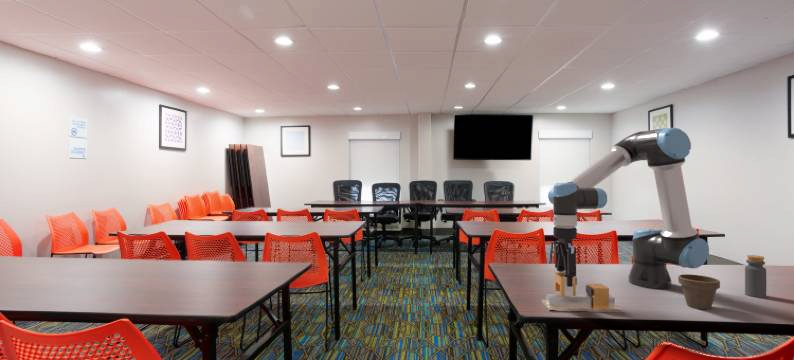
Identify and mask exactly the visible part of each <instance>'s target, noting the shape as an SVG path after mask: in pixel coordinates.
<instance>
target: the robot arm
mask: <svg viewBox="0 0 794 360" xmlns="http://www.w3.org/2000/svg"><path fill="white" fill-rule="evenodd" d="M691 149H692V143H691V139H690V137H689V136H688V134H687V132H685V131H683V130H682V129H680V128H677V127H663V128H658V129H651V130H642V131H637V132H635V133H632V134H630V135H628V136H626V137H624V138H622V139H621V140H620V141H619V142H617V143H614V145H612V146H610V147H609V149H608V152H607V153H605V154H604V155H603V156H602V157H600V158H599V159H597V160H596V161H595V162H593V163H592V164H590V165H589V166H588V167H585V169H584V170H582V171H581V172H580V173H578V174H577V175H575V176H574V177H573V178H571V179H570V180H569V181H567V182H557V183H555V184H553V187H551V188H550V189H549V191H548V194H547V197H548V201H549V202H550V203H551V204H552V205H553V217H552V220H553V226H554V227H553V231H552V232H553V235H552V236H553V237H554V238H556V239H557V240H555V241H554V250H555V251H554V256H555V257H554V268H555V269H556V271H557V273H565V275H563V276H564V295H565V296H573V277H576V278H577V247H576V246H575V247H574V244H573V240H574V239H577V237H578V229H577V226H578V210H597V209H603V208H604V207H605V206H606V205H607V203H608V195H607V193H606V191H605V190H604V189H602V188H600V187H596V186H597V185H599V184H600V183H601V182H603V181H604V180H606V179H607V178H608V177H610V176H611V175H612V174H613V173H615V172H616V171H618V170H619V169H620V168H622V167H628V166H629V165H631V164H633V163H634V162H635V163H636V162H640V161H647V167H648V168H650V169H652V170H653V173H654V180H655V184H656V189H657V196H658V201H659V207H660V213H661V218H662V225H663V227H664V228H663V229H661V228H658V229H657V228H656V229H655V228H654V229H652V228H648V229H636V230H634V231H633V234H632V235H633V237H632V258H633V260H632V262H633V263H632V266H631V269H630V271H629V274H628V282H629V283H631V284H633V285H636V286H639V287H643V288H648V289H649V288H650V289H669V288H672V287H673V286H672V278H671V276H670V274H669V271H668V268H667V264H668V265H674V266H677V267H681V268H684V269H685V268H686V269H687V268H688V269H698V268H700V267H702V266H703V265H704V264H705V263H706V261H707V259H709V258H708V257H709V254H710V246H709V243H708V242H707V241H706V240H705V239H703V238H700V237H699V231H698V230H697V229H695V228H694V227H692V220H691V215H690V211H689V210H690V209H689V204H688V203H689V202H688V198H687V193H686V187H685V181H684V175H683V169H682V166H683V165H684V164H685V162H686V157H688V156H689V155H690V153H691Z"/></svg>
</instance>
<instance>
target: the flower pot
mask: <svg viewBox="0 0 794 360" xmlns="http://www.w3.org/2000/svg"><path fill="white" fill-rule="evenodd" d="M677 279H678V280H677V281H678V283H679V284H680V285H681V288H682V292H683V296H684V299H685V303H686V305H687V306H689V307H691V308H693V309H699V310H710V309H712V307H713V304H714V300H715V296H716V293H717V290H719V289H720V287H721V280H719V279H717V278H715V277H712V276H711V277H710V276H706V275H699V274H691V273H688V274H687V273H685V274H678V276H677Z"/></svg>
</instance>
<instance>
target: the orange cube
mask: <svg viewBox="0 0 794 360" xmlns="http://www.w3.org/2000/svg"><path fill="white" fill-rule="evenodd" d="M563 275H565V273H558V272H554V291H555V292H559V294H560V295H561V296H565V295H564V276H563ZM576 285H578V278H577V276H576V277H573V296H576V294H577V291H576V290H577V289H576V287H577V286H576Z"/></svg>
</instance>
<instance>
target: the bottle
mask: <svg viewBox="0 0 794 360" xmlns="http://www.w3.org/2000/svg"><path fill="white" fill-rule="evenodd" d="M746 257H747V259H746V264H748V265H745V267H744V293H745V294H744V295H746V296H748V297H752V298H753V297H754V298H761V299H765V298H767V268H766V267H764V265H766V261H764V259H765V257H764V256H762V255H758V254H756V255H755V254H748V255H746Z"/></svg>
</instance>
